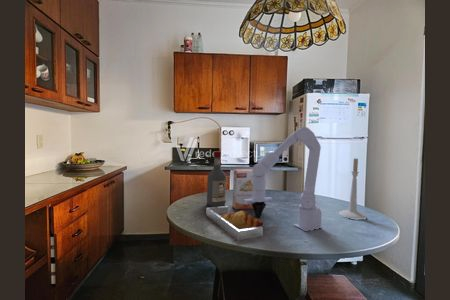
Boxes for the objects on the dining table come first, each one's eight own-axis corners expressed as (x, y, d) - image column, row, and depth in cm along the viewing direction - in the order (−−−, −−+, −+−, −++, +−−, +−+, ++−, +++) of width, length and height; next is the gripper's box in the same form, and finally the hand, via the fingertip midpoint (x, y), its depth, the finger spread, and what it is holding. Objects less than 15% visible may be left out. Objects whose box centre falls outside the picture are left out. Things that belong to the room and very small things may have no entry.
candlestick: (352, 211, 142) (356, 156, 140) (372, 219, 130) (376, 159, 128) (333, 213, 139) (336, 156, 137) (351, 221, 126) (355, 159, 124)
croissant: (214, 231, 118) (211, 218, 114) (222, 215, 126) (219, 202, 122) (261, 238, 110) (259, 224, 107) (266, 220, 118) (264, 207, 115)
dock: (226, 212, 134) (226, 205, 134) (262, 236, 105) (262, 227, 104) (206, 214, 130) (206, 207, 129) (238, 240, 100) (238, 231, 100)
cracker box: (235, 209, 140) (236, 170, 138) (232, 206, 145) (233, 169, 144) (259, 208, 143) (261, 170, 142) (255, 205, 149) (257, 168, 148)
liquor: (204, 203, 150) (206, 151, 148) (218, 201, 155) (219, 150, 153) (214, 207, 142) (215, 152, 140) (227, 205, 148) (229, 152, 146)
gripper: (267, 186, 129) (266, 213, 130) (241, 188, 122) (240, 217, 123) (275, 189, 122) (274, 218, 123) (248, 191, 116) (247, 222, 117)
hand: (258, 218), depth 123 cm, fingers closed
